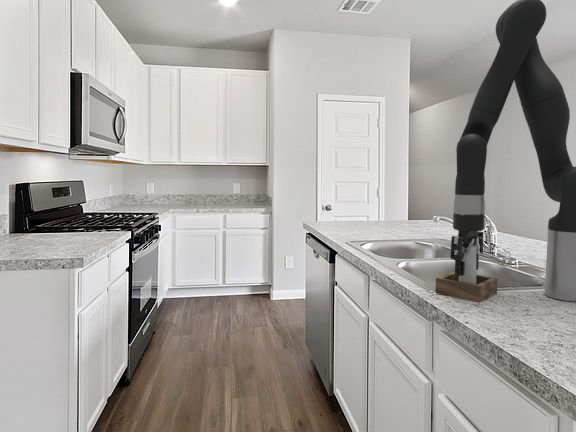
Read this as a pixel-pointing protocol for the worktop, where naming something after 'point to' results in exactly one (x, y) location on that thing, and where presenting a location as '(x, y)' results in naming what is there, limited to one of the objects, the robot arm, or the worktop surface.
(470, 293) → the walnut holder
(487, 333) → the worktop surface
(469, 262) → the skincare box
